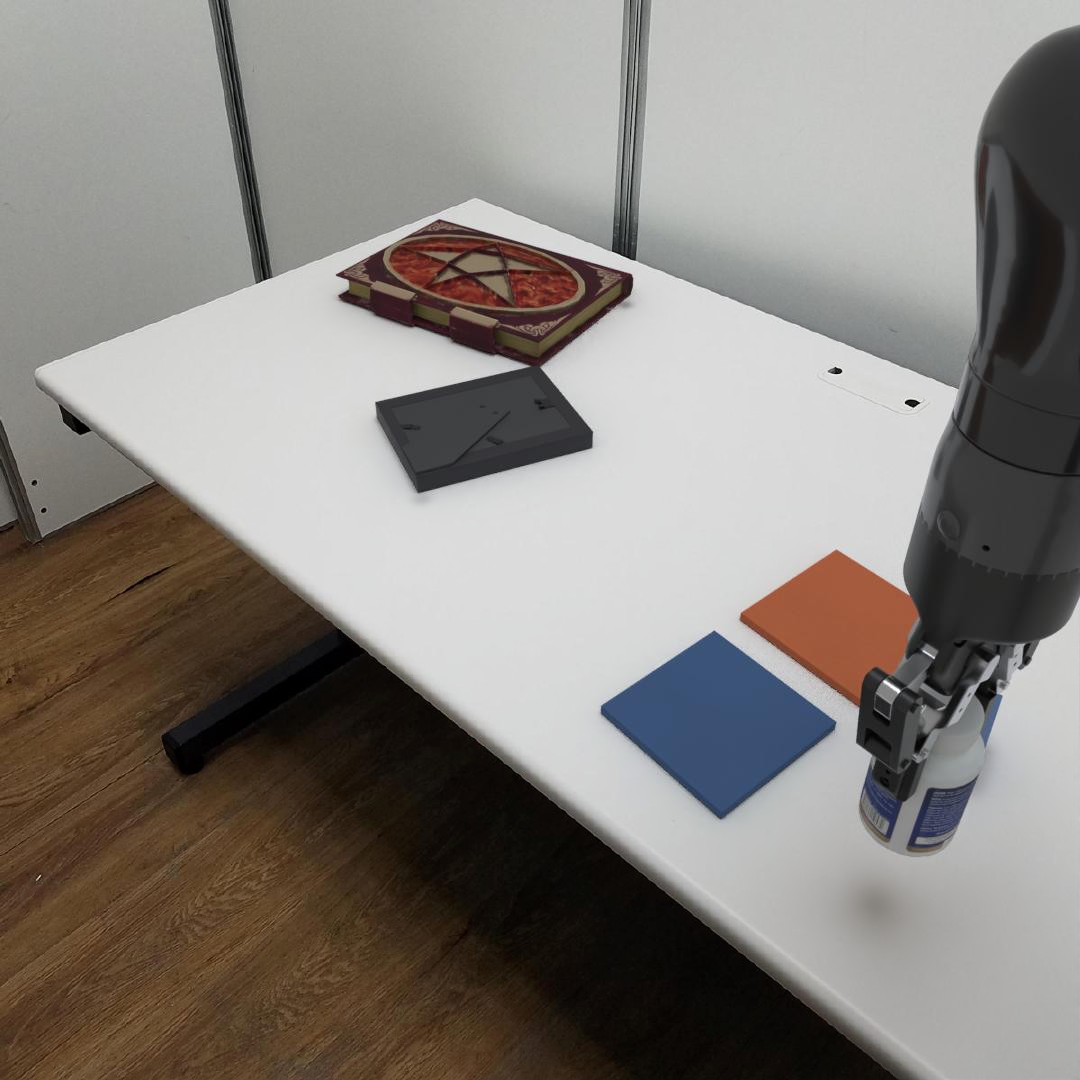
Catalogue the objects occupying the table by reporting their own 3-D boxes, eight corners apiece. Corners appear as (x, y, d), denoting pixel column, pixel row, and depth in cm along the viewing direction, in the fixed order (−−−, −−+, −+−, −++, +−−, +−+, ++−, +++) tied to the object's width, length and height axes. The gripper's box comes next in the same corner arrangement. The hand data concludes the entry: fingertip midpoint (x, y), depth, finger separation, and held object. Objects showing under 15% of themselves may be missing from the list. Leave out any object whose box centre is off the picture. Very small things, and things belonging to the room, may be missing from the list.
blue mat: (835, 729, 77) (837, 721, 76) (720, 819, 71) (721, 812, 71) (713, 637, 84) (714, 629, 83) (600, 712, 78) (600, 705, 78)
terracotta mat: (956, 633, 84) (958, 626, 83) (861, 708, 78) (863, 701, 78) (834, 556, 91) (836, 548, 91) (739, 619, 85) (740, 612, 85)
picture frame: (417, 493, 98) (592, 447, 103) (415, 473, 96) (593, 428, 102) (376, 418, 107) (538, 379, 113) (374, 399, 106) (538, 361, 111)
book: (632, 297, 127) (634, 257, 124) (534, 372, 114) (535, 330, 110) (442, 241, 139) (440, 204, 136) (334, 302, 126) (329, 263, 122)
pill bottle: (960, 800, 62) (1006, 686, 55) (946, 874, 58) (993, 761, 52) (867, 769, 64) (900, 655, 57) (847, 839, 60) (880, 726, 54)
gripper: (995, 635, 41) (903, 882, 52) (1176, 488, 48) (1062, 733, 59) (837, 539, 45) (783, 785, 56) (1024, 417, 52) (944, 657, 63)
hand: (926, 757), depth 57 cm, fingers closed on pill bottle, 5 cm apart
